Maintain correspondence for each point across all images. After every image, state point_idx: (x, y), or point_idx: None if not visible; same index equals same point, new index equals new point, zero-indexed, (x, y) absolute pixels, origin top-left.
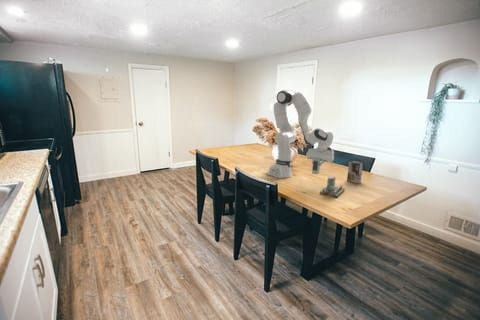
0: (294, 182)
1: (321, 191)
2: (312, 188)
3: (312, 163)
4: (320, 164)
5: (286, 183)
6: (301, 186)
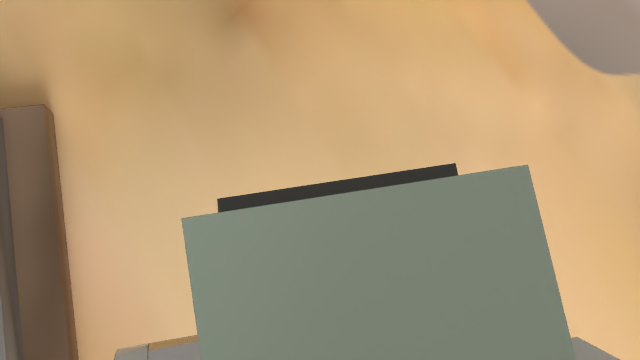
0: None
1: (30, 130)
2: None
3: None
4: (128, 349)
5: (563, 125)
6: None
